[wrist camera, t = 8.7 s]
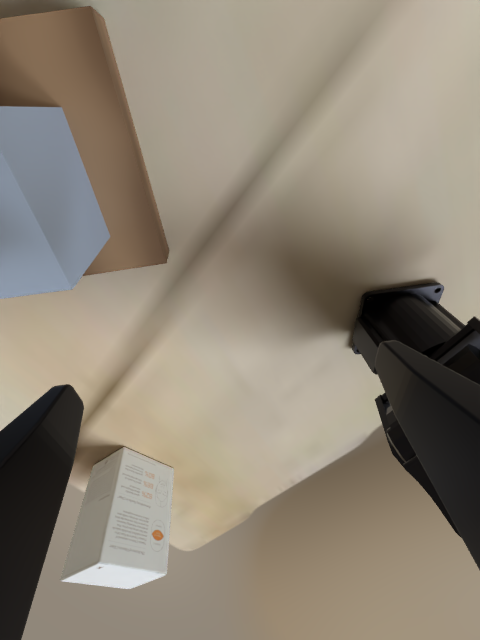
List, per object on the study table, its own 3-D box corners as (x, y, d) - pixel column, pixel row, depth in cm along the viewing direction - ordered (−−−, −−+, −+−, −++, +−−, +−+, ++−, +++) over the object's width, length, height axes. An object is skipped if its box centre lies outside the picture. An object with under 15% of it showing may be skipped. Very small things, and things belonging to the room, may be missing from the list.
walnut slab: (107, 21, 13) (90, 6, 11) (170, 247, 20) (166, 263, 18) (-134, 55, 13) (-195, 45, 11) (11, 271, 20) (-11, 289, 18)
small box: (92, 463, 34) (55, 582, 25) (124, 444, 32) (96, 564, 24) (145, 484, 38) (128, 591, 30) (175, 468, 36) (167, 576, 28)
